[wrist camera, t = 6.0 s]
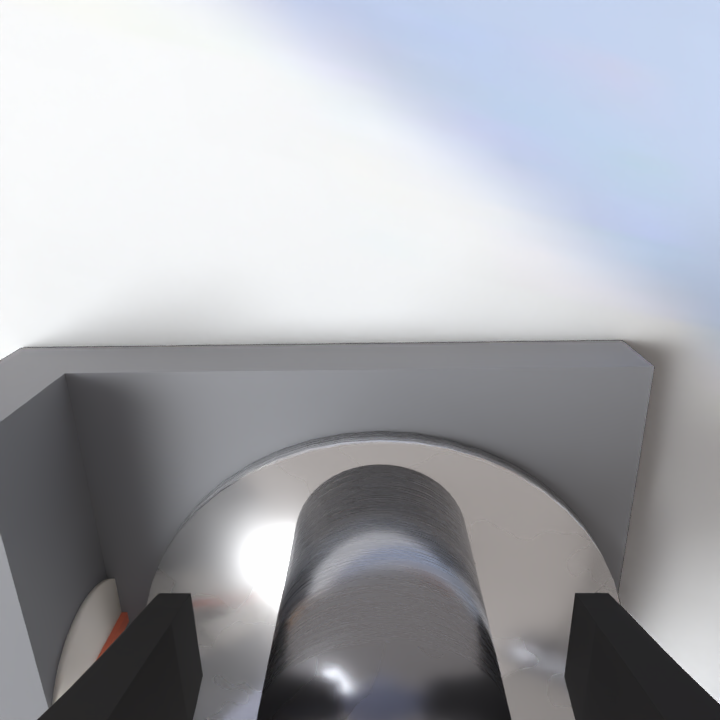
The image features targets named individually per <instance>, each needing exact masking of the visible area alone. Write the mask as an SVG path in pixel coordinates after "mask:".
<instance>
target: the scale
mask: <svg viewBox="0 0 720 720" xmlns="http://www.w3.org/2000/svg"><path fill="white" fill-rule="evenodd" d="M653 373H654V366H653V365H652V364H651V363H650V362H648V361H647V360H646V359H645V358H643V357H642V356H641V355H640V354H638V353H637V352H636V351H635V350H634V349H632V348H631V347H630V346H629V345H627V344H626V343H625V342H624V341H622V340H610V341H529V342H449V343H368V344H287V345H206V346H126V347H45V348H20V349H18V350H17V351H15V352H13V353H12V354H10V355H8V356H7V357H5V358H3V359H2V360H0V720H37V719H38V718H39V717H40V716H41V715H42V714H43V713H44V712H45V711H46V710H48V709H49V708H50V707H51V706H52V705H53V704H54V703H55V702H56V701H57V700H58V699H59V698H60V697H61V696H62V695H63V694H64V693H65V692H66V691H67V690H68V689H69V688H70V687H71V686H72V685H73V684H74V683H75V682H76V681H77V680H78V679H79V678H80V677H81V676H82V675H83V674H84V673H85V672H86V671H87V669H88V668H89V667H90V666H91V665H92V664H93V663H94V662H95V661H96V660H97V659H98V658H99V657H100V656H101V655H102V654H103V653H104V652H105V651H106V650H107V649H108V647H109V646H110V645H111V644H112V643H113V642H114V641H115V640H116V639H117V638H118V637H119V636H120V634H121V633H122V632H123V631H124V630H125V629H126V628H127V627H128V626H129V625H130V624H131V622H132V621H133V620H134V619H135V618H136V617H137V616H138V615H139V614H140V613H141V611H142V610H143V609H144V608H145V607H146V605H147V601H148V597H149V593H150V589H151V584H152V581H153V578H154V576H155V574H156V571H157V569H158V567H159V564H160V562H161V560H162V558H163V556H164V554H165V552H166V550H167V548H168V546H169V544H170V542H171V540H172V539H173V537H174V535H175V534H176V532H177V531H178V529H179V528H180V526H181V524H182V523H183V521H184V520H185V518H186V517H187V516H188V515H189V514H190V513H191V512H192V511H193V509H194V508H195V507H196V506H197V505H198V504H199V503H200V501H201V500H202V499H203V498H204V497H205V496H207V495H208V494H209V493H210V492H211V491H213V490H214V489H215V488H216V487H217V486H218V485H220V484H221V483H222V482H223V481H224V480H226V479H227V478H229V477H230V476H232V475H234V474H235V473H237V472H238V471H240V470H241V469H243V468H245V467H246V466H248V465H249V464H251V463H253V462H255V461H257V460H260V459H262V458H264V457H266V456H268V455H270V454H273V453H275V452H277V451H279V450H282V449H285V448H288V447H291V446H294V445H298V444H301V443H304V442H307V441H310V440H315V439H320V438H325V437H331V436H336V435H341V434H350V433H365V432H397V433H414V434H420V435H426V436H432V437H438V438H444V439H449V440H452V441H455V442H459V443H462V444H465V445H469V446H472V447H476V448H479V449H481V450H484V451H486V452H488V453H490V454H493V455H495V456H497V457H500V458H502V459H504V460H506V461H509V462H510V463H512V464H514V465H515V466H517V467H519V468H520V469H522V470H524V471H525V472H527V473H529V474H530V475H532V476H534V477H535V478H537V479H538V480H539V481H540V482H542V483H543V484H544V485H545V486H547V487H548V488H549V489H550V490H552V491H553V492H554V493H555V494H556V495H558V496H559V497H560V498H561V499H562V500H563V501H564V502H565V503H566V505H567V506H568V507H569V508H570V509H571V510H572V511H573V512H574V513H575V514H576V515H577V516H578V518H579V519H580V520H581V522H582V523H583V525H584V526H585V528H586V529H587V531H588V532H589V534H590V535H591V537H592V538H593V540H594V541H595V543H596V545H597V547H598V549H599V551H600V552H601V554H602V556H603V558H604V560H605V562H606V565H607V567H608V569H609V571H610V573H611V575H612V578H613V580H614V583H615V587H616V590H617V594H618V591H619V584H620V578H621V572H622V566H623V559H624V553H625V547H626V541H627V535H628V528H629V522H630V516H631V510H632V504H633V497H634V491H635V485H636V479H637V472H638V466H639V460H640V454H641V448H642V441H643V435H644V429H645V423H646V417H647V410H648V404H649V398H650V392H651V385H652V379H653Z"/></svg>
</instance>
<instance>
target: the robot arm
mask: <svg viewBox="0 0 720 720" xmlns="http://www.w3.org/2000/svg"><path fill="white" fill-rule="evenodd" d="M202 677H203V673H202V666H201V659H200V652H199V646H198V639H197V632H196V625H195V619H194V612H193V605H192V598H191V593H159V594H158V595H157V596H156V597H155V598H154V599H153V600H152V601H151V602H150V603H149V604H148V605H147V606H146V607H145V608H144V609H143V610H142V611H141V613H140V614H139V615H138V616H137V617H136V618H135V619H134V620H133V621H132V622H131V624H130V625H129V626H128V627H127V628H126V629H125V630H124V631H123V632H122V633H121V634H120V636H119V637H118V638H117V639H116V640H115V641H114V642H113V643H112V644H111V645H110V646H109V647H108V649H107V650H106V651H105V652H104V653H103V654H102V655H101V656H100V657H99V658H98V659H97V660H96V661H95V662H94V663H93V664H92V665H91V666H90V667H89V668H88V669H87V671H86V672H85V673H84V674H83V675H82V676H81V677H80V678H79V679H78V680H77V681H76V682H75V683H74V684H73V685H72V686H71V687H70V688H69V689H68V690H67V691H66V692H65V693H64V694H63V695H62V696H61V697H60V698H59V699H58V700H57V701H56V702H55V703H54V704H53V705H52V706H51V707H50V708H49V709H48V710H46V711H45V712H44V713H43V714H42V715H41V716H40V717H39V718H38V719H37V720H193V717H194V713H195V709H196V705H197V700H198V695H199V691H200V686H201V682H202ZM564 678H565V682H566V686H567V690H568V694H569V698H570V702H571V706H572V710H573V713H574V717H575V720H720V704H719V703H718V702H717V701H716V700H714V699H713V698H712V697H711V696H710V695H709V694H708V693H707V692H706V691H705V690H704V689H703V688H702V687H701V686H700V685H699V684H698V683H697V682H696V681H695V680H694V679H693V678H692V677H691V676H690V675H689V674H688V673H687V672H685V671H684V670H683V669H682V668H681V667H680V666H679V665H678V664H677V663H676V662H675V661H674V660H673V659H672V658H671V657H670V656H669V655H668V654H667V653H666V652H665V651H664V650H663V649H662V648H661V647H660V646H659V644H658V643H657V642H656V641H655V640H654V639H653V638H652V637H651V636H650V635H649V634H648V633H647V632H646V631H645V630H644V629H643V628H642V627H641V626H640V625H639V624H638V623H637V622H636V621H635V620H634V619H633V618H632V617H631V616H630V615H629V614H628V613H627V612H626V610H625V609H624V608H623V607H622V606H621V605H620V604H619V603H618V602H617V601H616V600H615V599H614V598H613V597H612V596H611V595H610V594H609V593H575V597H574V605H573V612H572V620H571V628H570V635H569V643H568V651H567V659H566V666H565V674H564Z"/></svg>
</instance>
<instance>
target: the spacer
mask: <svg viewBox="0 0 720 720" xmlns="http://www.w3.org/2000/svg"><path fill="white" fill-rule="evenodd" d="M257 720H511V715H510V711H509V707H508V703H507V698H506V694H505V690H504V686H503V681H502V677H501V673H500V669H499V664H498V660H497V656H496V652H495V648H494V643H493V639H492V635H491V631H490V626H489V622H488V618H487V614H486V609H485V605H484V601H483V597H482V592H481V588H480V584H479V580H478V576H477V571H476V567H475V563H474V559H473V554H472V550H471V546H470V542H469V537H468V533H467V529H466V525H465V520H464V517H463V515H462V512H461V510H460V508H459V506H458V504H457V503H456V501H455V500H454V498H453V497H452V496H451V495H450V493H449V492H448V491H447V490H446V489H445V488H444V487H443V486H441V485H440V484H439V483H437V482H436V481H435V480H433V479H432V478H430V477H428V476H426V475H424V474H423V473H420V472H418V471H415V470H412V469H409V468H405V467H401V466H395V465H382V464H376V465H365V466H360V467H356V468H352V469H349V470H346V471H343V472H341V473H339V474H337V475H335V476H333V477H331V478H330V479H328V480H326V481H325V482H323V483H322V484H321V485H320V486H319V487H318V488H316V489H315V490H314V491H313V493H312V494H311V495H310V496H309V497H308V499H307V500H306V502H305V503H304V505H303V506H302V509H301V511H300V513H299V516H298V519H297V522H296V527H295V532H294V537H293V542H292V547H291V552H290V557H289V562H288V566H287V571H286V576H285V581H284V586H283V591H282V596H281V601H280V606H279V611H278V616H277V621H276V626H275V631H274V636H273V641H272V645H271V650H270V655H269V660H268V665H267V670H266V675H265V680H264V685H263V690H262V695H261V700H260V705H259V710H258V715H257Z"/></svg>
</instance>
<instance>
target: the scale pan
mask: <svg viewBox="0 0 720 720" xmlns="http://www.w3.org/2000/svg"><path fill="white" fill-rule="evenodd" d="M376 464H382V465H395V466H401V467H405V468H409V469H412V470H415V471H418V472H420V473H423V474H424V475H426V476H428V477H430V478H432V479H433V480H435V481H436V482H437V483H439V484H440V485H441V486H443V487H444V488H445V489H446V490H447V491H448V492H449V493H450V495H451V496H452V497H453V498H454V500H455V501H456V503H457V504H458V506H459V508H460V510H461V512H462V515H463V517H464V520H465V525H466V529H467V533H468V537H469V542H470V546H471V550H472V554H473V559H474V563H475V567H476V571H477V576H478V580H479V584H480V588H481V592H482V597H483V601H484V605H485V609H486V614H487V618H488V622H489V626H490V631H491V635H492V639H493V643H494V648H495V652H496V656H497V660H498V664H499V669H500V673H501V677H502V681H503V686H504V690H505V694H506V698H507V703H508V707H509V711H510V715H511V720H575V717H574V713H573V710H572V706H571V702H570V698H569V694H568V690H567V686H566V682H565V678H564V674H565V666H566V659H567V651H568V643H569V635H570V628H571V620H572V612H573V605H574V597H575V593H609V594H610V595H611V596H612V597H613V598H614V599H615V600H616V601H617V602H618V603H619V604H620V601H619V598H618V594H617V590H616V587H615V583H614V580H613V578H612V575H611V573H610V571H609V569H608V567H607V565H606V562H605V560H604V558H603V556H602V554H601V552H600V551H599V549H598V547H597V545H596V543H595V541H594V540H593V538H592V537H591V535H590V534H589V532H588V531H587V529H586V528H585V526H584V525H583V523H582V522H581V520H580V519H579V518H578V516H577V515H576V514H575V513H574V512H573V511H572V510H571V509H570V508H569V507H568V506H567V505H566V503H565V502H564V501H563V500H562V499H561V498H560V497H559V496H558V495H556V494H555V493H554V492H553V491H552V490H550V489H549V488H548V487H547V486H545V485H544V484H543V483H542V482H540V481H539V480H538V479H537V478H535V477H534V476H532V475H530V474H529V473H527V472H525V471H524V470H522V469H520V468H519V467H517V466H515V465H514V464H512V463H510V462H509V461H506V460H504V459H502V458H500V457H497V456H495V455H493V454H490V453H488V452H486V451H484V450H481V449H479V448H476V447H472V446H469V445H465V444H462V443H459V442H455V441H452V440H449V439H444V438H438V437H432V436H426V435H420V434H414V433H397V432H365V433H350V434H341V435H336V436H331V437H325V438H320V439H315V440H310V441H307V442H304V443H301V444H298V445H294V446H291V447H288V448H285V449H282V450H279V451H277V452H275V453H273V454H270V455H268V456H266V457H264V458H262V459H260V460H257V461H255V462H253V463H251V464H249V465H248V466H246V467H245V468H243V469H241V470H240V471H238V472H237V473H235V474H234V475H232V476H230V477H229V478H227V479H226V480H224V481H223V482H222V483H221V484H220V485H218V486H217V487H216V488H215V489H214V490H213V491H211V492H210V493H209V494H208V495H207V496H205V497H204V498H203V499H202V500H201V501H200V503H199V504H198V505H197V506H196V507H195V508H194V509H193V511H192V512H191V513H190V514H189V515H188V516H187V517H186V518H185V520H184V521H183V523H182V524H181V526H180V528H179V529H178V531H177V532H176V534H175V535H174V537H173V539H172V540H171V542H170V544H169V546H168V548H167V550H166V552H165V554H164V556H163V558H162V560H161V562H160V564H159V567H158V569H157V571H156V574H155V576H154V578H153V581H152V584H151V589H150V593H149V597H148V601H147V605H148V604H149V603H150V602H151V601H152V600H153V599H154V598H155V597H156V596H157V595H158V594H159V593H191V598H192V605H193V612H194V619H195V625H196V632H197V639H198V646H199V652H200V659H201V666H202V673H203V677H202V682H201V686H200V691H199V695H198V700H197V705H196V709H195V713H194V717H193V720H257V715H258V710H259V705H260V700H261V695H262V690H263V685H264V680H265V675H266V670H267V665H268V660H269V655H270V650H271V645H272V641H273V636H274V631H275V626H276V621H277V616H278V611H279V606H280V601H281V596H282V591H283V586H284V581H285V576H286V571H287V566H288V562H289V557H290V552H291V547H292V542H293V537H294V532H295V527H296V522H297V519H298V516H299V513H300V511H301V509H302V506H303V505H304V503H305V502H306V500H307V499H308V497H309V496H310V495H311V494H312V493H313V491H314V490H315V489H316V488H318V487H319V486H320V485H321V484H322V483H323V482H325V481H326V480H328V479H330V478H331V477H333V476H335V475H337V474H339V473H341V472H343V471H346V470H349V469H352V468H356V467H360V466H365V465H376ZM147 605H146V606H147Z"/></svg>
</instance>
